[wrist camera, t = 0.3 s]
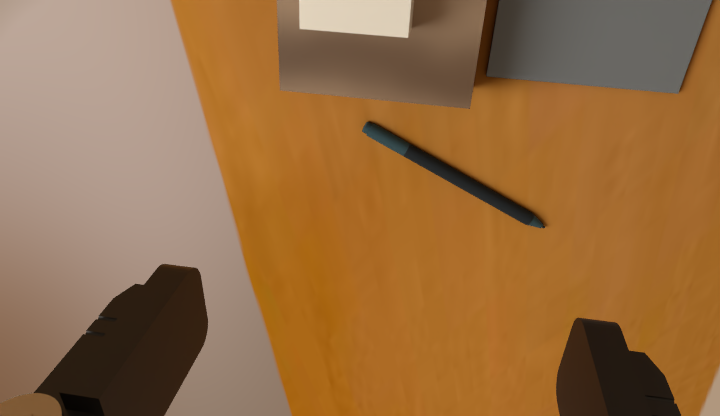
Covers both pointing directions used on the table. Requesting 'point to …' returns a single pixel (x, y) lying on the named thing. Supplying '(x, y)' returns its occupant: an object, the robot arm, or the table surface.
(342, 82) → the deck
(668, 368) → the table surface
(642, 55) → the mat
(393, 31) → the cream rectangular block
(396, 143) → the pen
